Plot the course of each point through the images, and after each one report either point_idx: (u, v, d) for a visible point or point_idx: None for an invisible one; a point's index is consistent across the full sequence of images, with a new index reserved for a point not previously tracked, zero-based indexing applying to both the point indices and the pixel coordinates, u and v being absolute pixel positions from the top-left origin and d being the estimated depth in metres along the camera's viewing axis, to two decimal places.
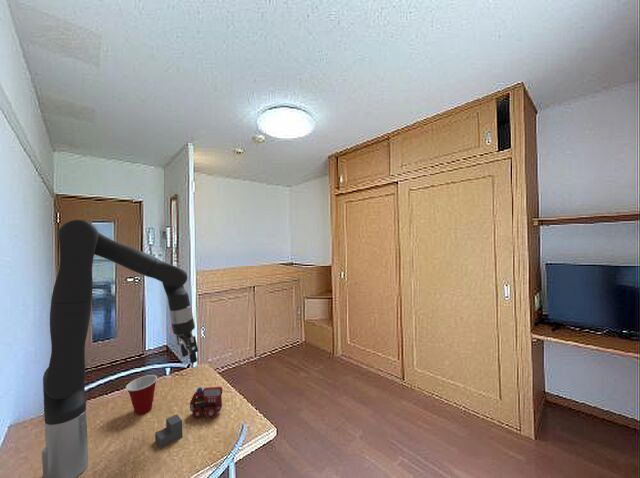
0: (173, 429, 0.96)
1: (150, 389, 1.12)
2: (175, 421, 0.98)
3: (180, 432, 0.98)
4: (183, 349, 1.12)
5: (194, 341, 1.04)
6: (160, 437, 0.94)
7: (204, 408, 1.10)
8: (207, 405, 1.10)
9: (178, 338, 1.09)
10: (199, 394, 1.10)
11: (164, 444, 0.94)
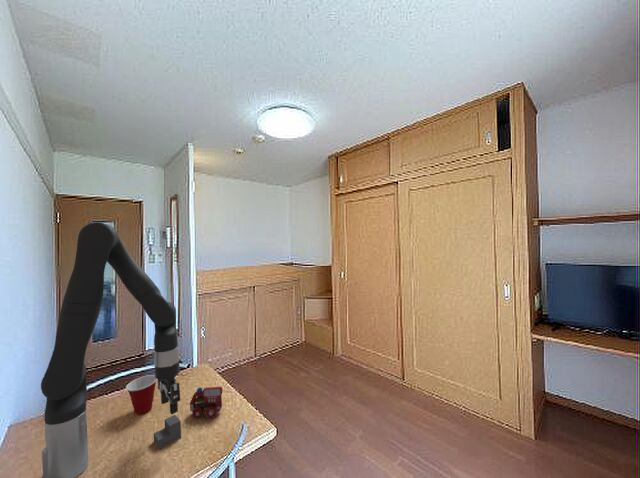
0: (171, 430, 0.96)
1: (150, 389, 1.12)
2: (174, 422, 0.97)
3: (178, 433, 0.98)
4: (163, 395, 1.00)
5: (177, 389, 0.93)
6: (158, 437, 0.94)
7: (204, 408, 1.10)
8: (207, 405, 1.10)
9: (159, 383, 0.98)
10: (199, 394, 1.10)
11: (162, 445, 0.94)
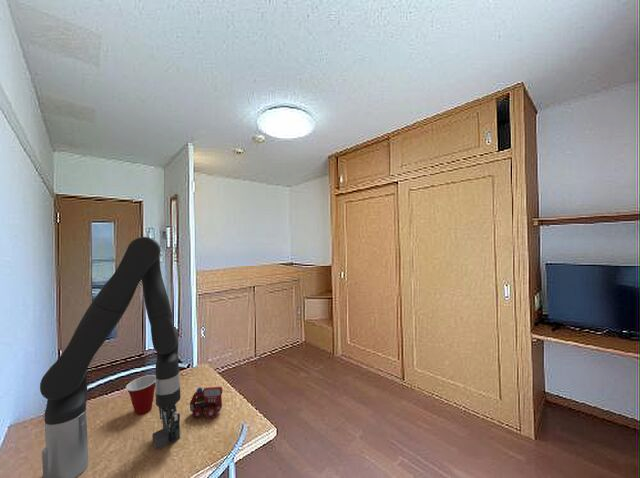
0: None
1: (150, 389, 1.12)
2: None
3: (177, 433, 0.97)
4: None
5: (177, 419, 0.94)
6: (157, 438, 0.94)
7: (204, 408, 1.10)
8: (207, 405, 1.10)
9: (160, 410, 0.97)
10: (199, 394, 1.10)
11: (161, 445, 0.94)
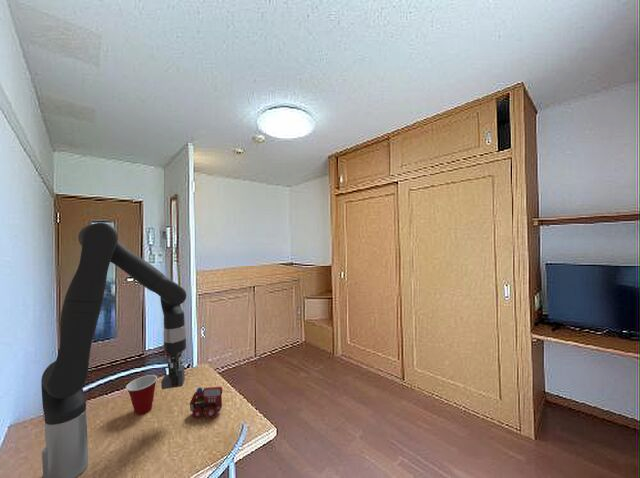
0: None
1: (150, 389, 1.12)
2: None
3: (180, 381, 1.06)
4: None
5: (173, 367, 1.02)
6: (163, 379, 1.06)
7: (204, 408, 1.10)
8: (207, 405, 1.10)
9: None
10: (199, 394, 1.10)
11: (165, 387, 1.05)
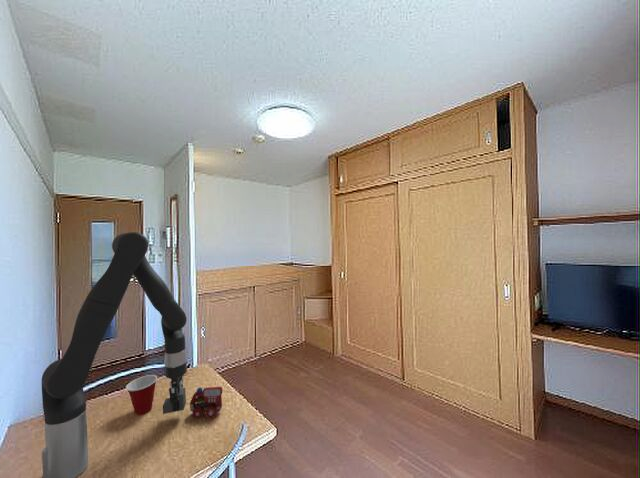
0: None
1: (150, 389, 1.12)
2: None
3: (181, 405, 1.07)
4: None
5: (175, 392, 1.02)
6: (164, 403, 1.06)
7: (204, 408, 1.10)
8: (207, 405, 1.10)
9: None
10: (199, 394, 1.10)
11: (166, 411, 1.05)
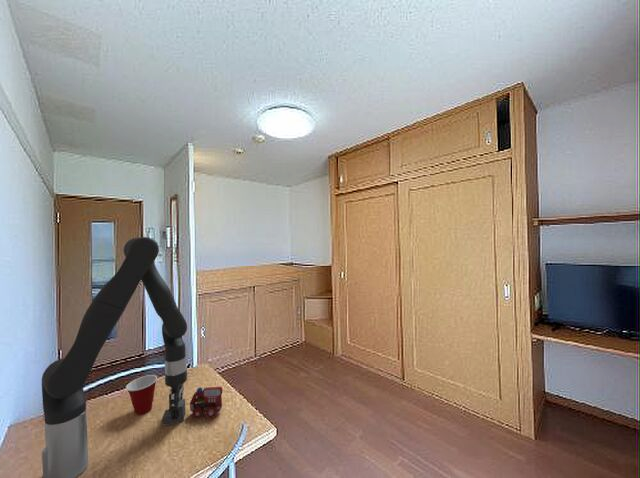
0: None
1: (150, 389, 1.12)
2: (178, 405, 1.07)
3: (181, 416, 1.06)
4: (178, 398, 1.12)
5: (174, 399, 1.02)
6: (164, 415, 1.06)
7: (204, 408, 1.11)
8: (207, 405, 1.10)
9: (172, 387, 1.10)
10: (199, 394, 1.10)
11: (166, 423, 1.05)
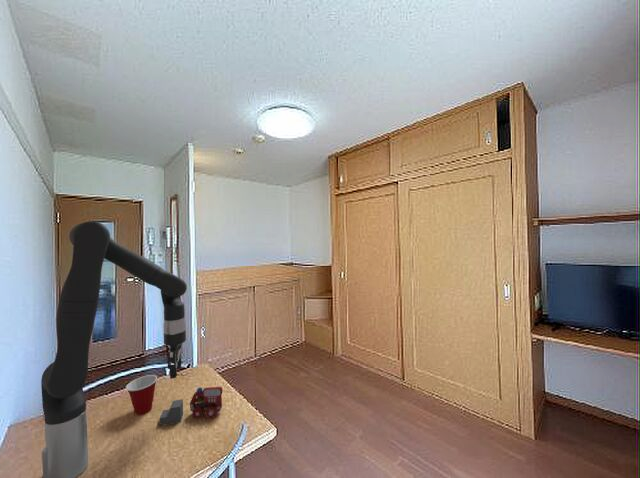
0: (171, 412, 1.06)
1: (150, 389, 1.12)
2: (175, 405, 1.07)
3: (178, 417, 1.06)
4: None
5: (173, 356, 1.02)
6: (161, 416, 1.06)
7: (204, 408, 1.10)
8: (207, 405, 1.10)
9: None
10: (199, 394, 1.10)
11: (163, 423, 1.05)
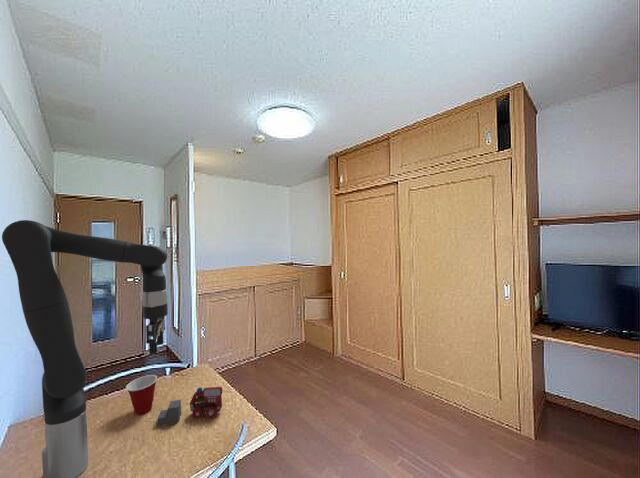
0: (169, 413, 1.05)
1: (150, 389, 1.12)
2: (173, 406, 1.07)
3: (176, 417, 1.06)
4: (158, 336, 1.04)
5: (152, 330, 0.93)
6: (159, 416, 1.05)
7: (204, 408, 1.10)
8: (207, 405, 1.10)
9: None
10: (199, 394, 1.10)
11: (161, 424, 1.05)
